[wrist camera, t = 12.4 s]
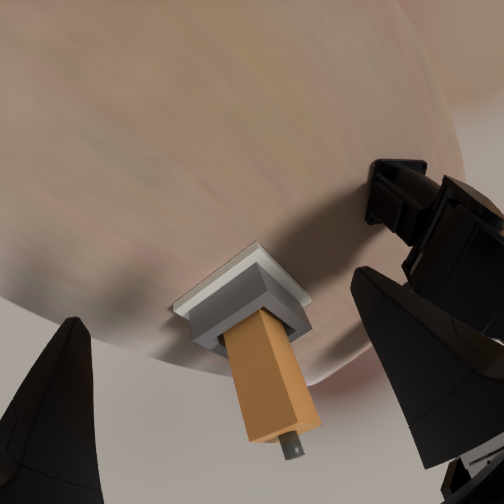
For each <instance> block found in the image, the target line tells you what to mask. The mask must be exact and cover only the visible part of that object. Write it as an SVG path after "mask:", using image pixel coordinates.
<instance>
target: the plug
mask: <svg viewBox="0 0 504 504" xmlns="http://www.w3.org/2000/svg"><path fill="white" fill-rule="evenodd" d="M223 334H224V339H225V344H226V348H227V353H228V357H229V362H230V366H231V370H232V375H233V379H234V383H235V387H236V391H237V395H238V399H239V403H240V407H241V411H242V415H243V419H244V423H245V427H246V431H247V434H248V438H249V442H261V443H262V442H263V443H280V444H281V447H282V450H283V453H284V457H285V460H291V459H294V458H298V457H300V456H302V455H305V453H304V451H303V448H302V445H301V442H300V439H299V436H298V435H300V434H303V433H305V432H307V431H309V430H312V429H314V428H316V427H318V426H320V425H322V424H321V421H320V419H319V416H318V413H317V411H316V409H315V406H314V403H313V401H312V398H311V396H310V393H309V391H308V388H307V385H306V383H305V380H304V378H303V375H302V373H301V370H300V368H299V365H298V363H297V360H296V358H295V355H294V352H293V350H292V347H291V345H290V342H289V340H288V337H287V335H286V332H285V330H284V327H283V325H282V322H281V320H280V318H279V317H277V316H276V315H275V314H273V313H272V312H271V311H269V310H268V309H267V308H265V307H264V306H263V307H262V308H260V309H259V310H257V311H256V312H254V313H253V314H251V315H250V316H248V317H247V318H245V319H243V320H242V321H240V322H239V323H237V324H236V325H234V326H233V327H231V328H230V329H228V330H226V331H225V332H223Z"/></svg>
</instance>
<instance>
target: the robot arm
mask: <svg viewBox="0 0 504 504" xmlns="http://www.w3.org/2000/svg"><path fill="white" fill-rule="evenodd" d="M381 164H382V166H381V167H380V165H381ZM426 169H427V163H426V162H425V161H423V160H407V159H379V160H377V162H376V164H375V170H374V176H373V181H372V187H371V192H370V197H369V202H368V207H367V212H366V217H365V222H366V223H367V224H368V225H373V224H380V223H383V224H384V225H385V226H386V227H387V228H388V229H389V230H390V231H391V232H392V233H396V234H397V235H398V236H399V237H400V238H401V239H402V240H403V241H404V242H405V243H406V244H407V245H408V246H409V247H411V246H413V247H412V249H411V251H410V253H409V255H408V257H407V258H406V260H404V262H403V264H402V265H401V267H402V269H403V271H404V273H405V275H406V277H407V279H408V281H409V284H410V286H411V288H412V290H413V292H412V291H410V290H408V289H407V288H405V287H403V286H402V285H400V284H398V283H397V282H395V281H393V280H391V279H390V278H388V277H386V276H384V275H383V274H381V273H379V272H377V271H376V270H374V269H372V268H370V267H369V266H363V267H358V268H356V269H355V271H354V275H353V278H352V282H351V286H350V289H351V293H352V296H353V298H354V301H355V304H356V306H357V309H358V312H359V314H360V317H361V320H362V322H363V325H364V327H365V330H366V332H367V334H368V336H369V338H370V340H371V342H372V344H373V346H374V348H375V351H376V353H377V354H378V357H379V359H380V361H381V363H382V366H383V368H384V370H385V372H386V374H387V377H388V379H389V381H390V383H391V385H392V388H393V390H394V392H395V395H396V397H397V399H398V402H399V404H400V406H401V409H402V411H403V413H404V416H405V418H406V421H407V423H408V425H409V429H410V431H411V434H412V436H413V439H414V442H415V444H416V447H417V449H418V452H419V455H420V458H421V460H422V463H423V466H424V468H425V469H429V468H431V467H434V466H437V465H439V464H442V463H444V462H446V461H449V460H450V459H453V458H455V457H456V458H455V459H454V460H453V461H451V462H450V463H449V465H448V469H447V472H446V475H445V478H444V481H443V484H442V487H441V489H440V490H441V492H442V495H443V497H444V500H445V501H444V502H442V503H441V504H504V346H503V345H501V344H500V343H498V342H496V341H494V340H492V339H495V340H500V341H501V342H502V343H503V344H504V215H503V214H502V213H501V211H500V210H499V209H498V208H497V207H496V206H495V205H494V204H493V203H492V202H491V201H490V200H489V199H488V198H487V197H486V196H484V195H483V194H481V193H480V192H479V191H477V190H475V189H474V188H473V187H471V186H469V185H467V184H465V183H463V182H461V181H458V180H456V179H454V178H451V177H449V176H446V175H444V177H443V179H442V181H443V182H442V185H441V186H440V185H439V184H437V183H436V182H434V181H433V180H431V179H430V178H428V177H427V176H425V174H426ZM370 219H371V220H370ZM91 355H92V354H91V337H90V333H89V331H88V330H87V328H86V327H85V325H84V324H83V322H82V321H81V319H80V318H79V317H68V318H67V319H66V320H65V321H64V322H63V323H62V325H61V326H60V328H59V329H58V330H57V332H56V333H55V334H54V336H53V337H52V339H51V340H50V341H49V343H48V344H47V346H46V347H45V349H44V350H43V352H42V353H41V354H40V356H39V357H38V359H37V360H36V362H35V363H34V365H33V366H32V368H31V370H30V371H29V373H28V374H27V376H26V377H25V379H24V381H23V382H22V384H21V385H20V387H19V389H18V390H17V392H16V394H15V396H14V397H13V400H12V401H11V402H10V404H9V406H8V408H7V409H6V411H5V413H4V415H3V416H2V418H1V420H0V504H104V500H103V495H102V491H101V484H100V478H99V470H98V462H97V453H96V443H95V429H94V406H93V369H92V356H91Z"/></svg>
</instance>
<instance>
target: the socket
mask: <svg viewBox="0 0 504 504" xmlns="http://www.w3.org/2000/svg"><path fill="white" fill-rule="evenodd" d="M311 302H312V300H311V298H310V296H309V295H308V294H307V293H306V291H305V290H304V289H303V288H302V287H301V286H300V285H299V284H298V283H297V282H296V281H295V280H294V279H293V278H292V277H291V276H290V275H289V274H288V273H287V272H286V271H285V270H284V269H283V268H282V267H281V266H280V265H279V264H278V263H277V262H276V261H275V260H274V259H273V258H272V257H271V256H270V255H269V254H268V253H267V252H266V251H265V250H264V249H263V248H262V247H261V246H260V245H259V244H258V243H257V242H256V241H255V242H254V243H253V244H251V245H250V246H249V247H247V248H246V249H245V250H243V251H242V252H241V253H239V254H238V255H237V256H235V257H234V258H233V259H231V260H230V261H229V262H227V263H226V264H225V265H223V266H222V267H221V268H219V269H218V270H217V271H215V272H214V273H213V274H212V275H210V276H209V277H208V278H206V279H205V280H204V281H202V282H201V283H200V284H198V285H197V286H196V287H194V288H193V289H192V290H190V291H189V292H188V293H186V294H185V295H184V296H183V297H181V298H180V299H179V300H177V301H176V302H175V303H173V311H174V312H175V313H177V314H179V315H180V316H182V317H184V318H185V319H187V320H189V321H190V330H191V338H192V341H193V342H195V343H197V344H199V345H201V346H203V347H205V348H207V349H209V350H211V351H213V352H215V353H217V354H219V355H221V356H223V357H225V358H228V359H229V357H228V353H227V348H226V344H225V339H224V334H223V332H225V331H226V330H228V329H230V328H231V327H233V326H234V325H236V324H237V323H239V322H240V321H242V320H243V319H245V318H247V317H248V316H250V315H251V314H253V313H254V312H256V311H257V310H259V309H260V308H262V307H263V306H264V307H265V308H267V309H268V310H269V311H271V312H272V313H273V314H275V315H276V316H277V317H279V318H280V320H281V322H282V325H283V327H284V330H285V332H286V335H287V337H288V340H289V342H292V341H294V340H295V339H297V338H299V337H300V336H302V335H303V334H305V333H307V332H308V331H310V330H311V329H313V328H312V326H311V324H310V322H309V320H308V318H307V316H306V314H305V312H304V310H303V307H305V306H306V305H308V304H309V303H311Z"/></svg>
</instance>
